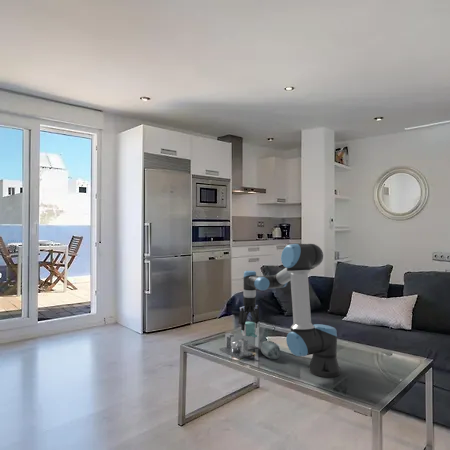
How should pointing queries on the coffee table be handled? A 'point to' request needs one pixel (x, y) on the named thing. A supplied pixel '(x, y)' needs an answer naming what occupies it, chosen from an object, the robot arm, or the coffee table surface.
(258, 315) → the robot arm
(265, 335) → the coffee table surface
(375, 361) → the coffee table surface
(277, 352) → the grey green ovoid
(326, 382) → the coffee table surface
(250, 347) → the pad
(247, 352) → the grey metal fixture
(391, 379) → the coffee table surface
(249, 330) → the cap
